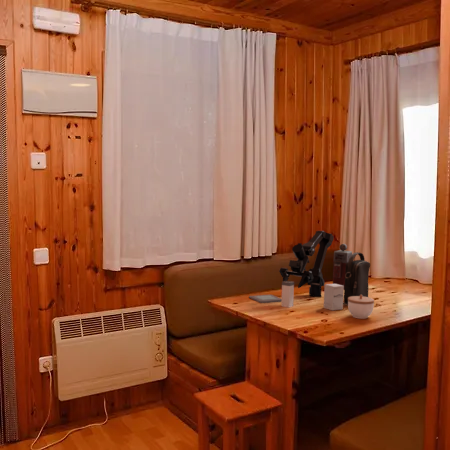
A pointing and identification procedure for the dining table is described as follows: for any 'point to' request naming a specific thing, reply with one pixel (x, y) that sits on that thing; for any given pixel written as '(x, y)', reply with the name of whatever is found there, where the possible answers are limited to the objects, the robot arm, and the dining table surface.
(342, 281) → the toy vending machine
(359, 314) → the lidded bowl
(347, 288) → the shoulder bag
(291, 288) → the block
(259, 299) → the pad
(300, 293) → the dining table surface
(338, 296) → the supplement box
